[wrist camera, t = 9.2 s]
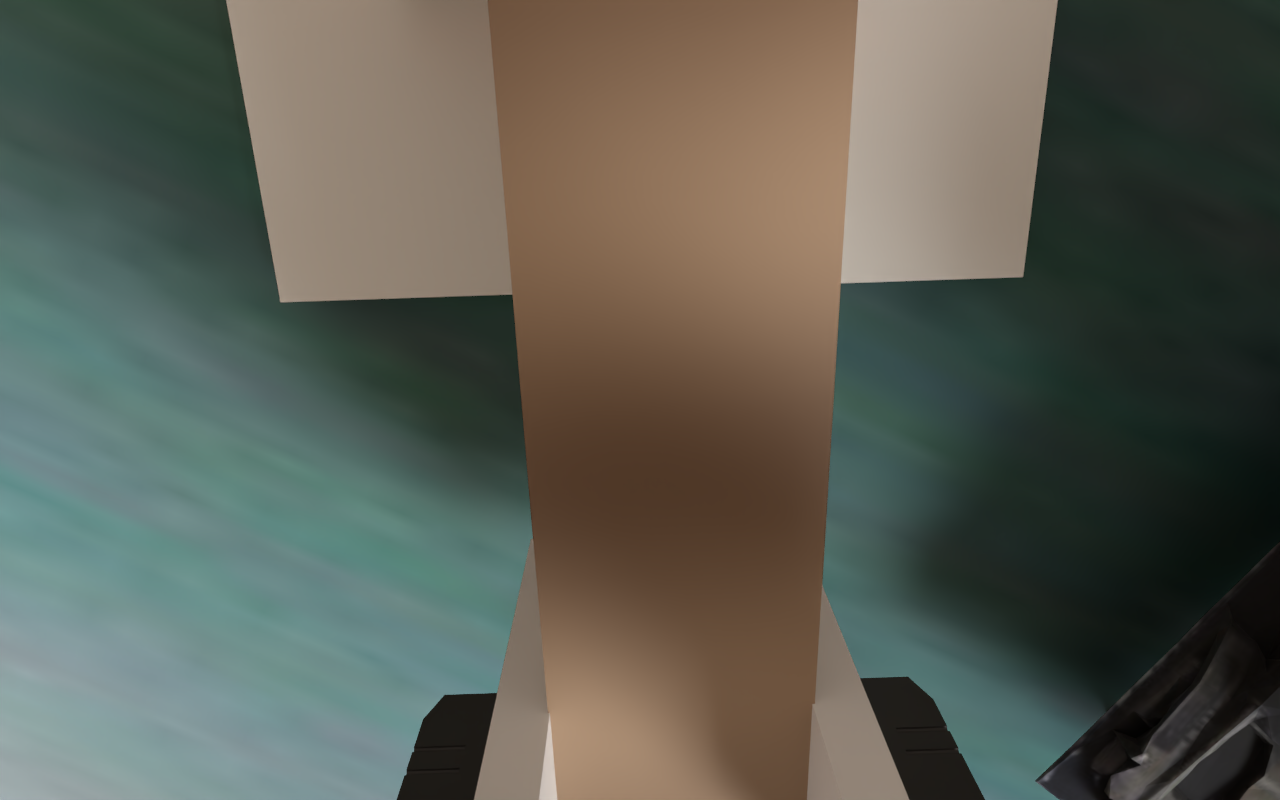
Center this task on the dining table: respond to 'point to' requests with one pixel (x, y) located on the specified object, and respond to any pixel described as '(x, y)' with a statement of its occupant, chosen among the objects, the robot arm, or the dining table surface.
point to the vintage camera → (1194, 712)
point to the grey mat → (471, 161)
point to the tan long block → (677, 374)
